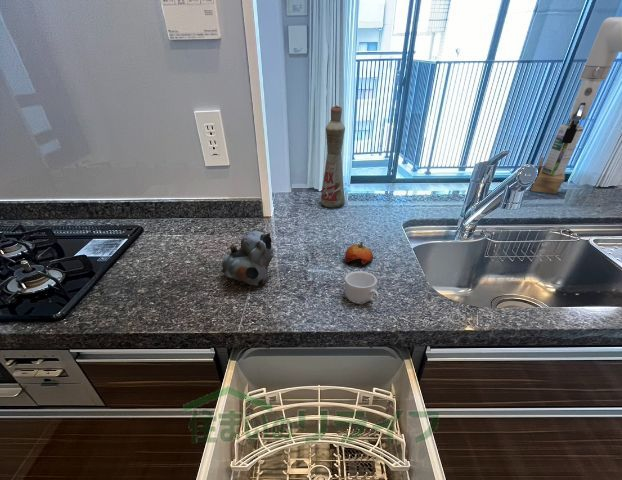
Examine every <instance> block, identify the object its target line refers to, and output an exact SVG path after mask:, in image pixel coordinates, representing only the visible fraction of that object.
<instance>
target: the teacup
mask: <svg viewBox="0 0 622 480" xmlns="http://www.w3.org/2000/svg"><path fill="white" fill-rule="evenodd" d="M377 284H378V278H377V277H376V276H375V275H374V274H372V273H370V272H368V271H362V270H361V271H360V270H357V271H352V272H351V271H350V272H349V273H347V274H346V275H345V277H344V294H345V296H346V298H347V299H348V301H350V302H351V303H353V304H356V305H363V304H366V303H369V302H376V301H378V300H379V297H380V295H379V292H378V291H377V290H376V289H377ZM374 295H376V297H375V298H374ZM353 301H354V302H353ZM366 301H367V302H366ZM357 302H364V303H357Z"/></svg>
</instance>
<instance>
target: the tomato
mask: <svg viewBox="0 0 622 480" xmlns="http://www.w3.org/2000/svg"><path fill="white" fill-rule="evenodd" d="M344 254H345V255H344V260H345V263H346V264H348V266H349V262H353V261H357V259H361V260H360V261H361V263H362V265H365V264H366V263H367V264H368V262H371V261H373V260H374V254H373V251H372V250H371V249H370V248H368V247H366V246H364V242H363V241H361V242H359V243H358V244H352V245H351V246H349V247H348V248H347V249H346V251H345V253H344Z"/></svg>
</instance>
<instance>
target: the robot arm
mask: <svg viewBox="0 0 622 480" xmlns="http://www.w3.org/2000/svg"><path fill="white" fill-rule="evenodd" d="M618 52H619V53H622V16H610V17H607V18H605V19H604V20H603V21H602V23H601V26H600V27H599V29H598V31H597V34H596V37H595V39H594V41H593V43H592V47H591V49H590V52H589V54H588V56H587V59H586V61H585V64H584V66H583V68H582V70H581V74H580V76H579V80H581V83H580V86H579V89H578V91H577V93H576V96H575V98H574V101H573V104H572V107H571V110H570V113H569V120H568V122H567V123H566V124H569V127H568V128H567V130H566V132H565V134H564V137H563V139H562V143H572V140H573V138H574V136H575V134H576V131H577V128H578V126H580V123H581V120H583V121H585V120H586V119H587V117H588V114H589V112H590V109H591V107H592V105H593V103H594V100H595V98H596V96H597V93H598V90H599V88H600V85H601V82H604V81H606V79H607V77H608V75H609V73H610V71H611V69H612V66H613V63H614V61H615V59H616V57H617V55H618Z"/></svg>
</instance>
